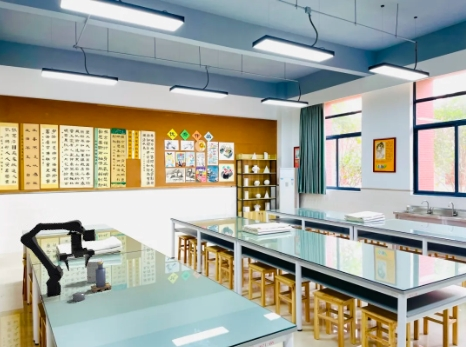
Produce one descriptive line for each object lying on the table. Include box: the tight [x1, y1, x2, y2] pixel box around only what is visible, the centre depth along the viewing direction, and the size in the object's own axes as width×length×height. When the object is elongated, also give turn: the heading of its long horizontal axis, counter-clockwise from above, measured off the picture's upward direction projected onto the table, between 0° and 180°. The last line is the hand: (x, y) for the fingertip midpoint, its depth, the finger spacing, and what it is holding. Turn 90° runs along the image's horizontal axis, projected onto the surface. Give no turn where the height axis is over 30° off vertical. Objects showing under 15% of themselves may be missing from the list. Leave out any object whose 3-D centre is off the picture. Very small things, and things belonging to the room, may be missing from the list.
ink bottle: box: [95, 260, 107, 288], centre depth 204 cm, size 5×5×14 cm
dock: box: [90, 282, 113, 294], centre depth 204 cm, size 10×7×2 cm
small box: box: [86, 258, 103, 283], centre depth 220 cm, size 8×6×13 cm
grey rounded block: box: [72, 291, 86, 303], centre depth 189 cm, size 6×6×3 cm
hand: (77, 269), depth 201 cm, fingers open, 9 cm apart
